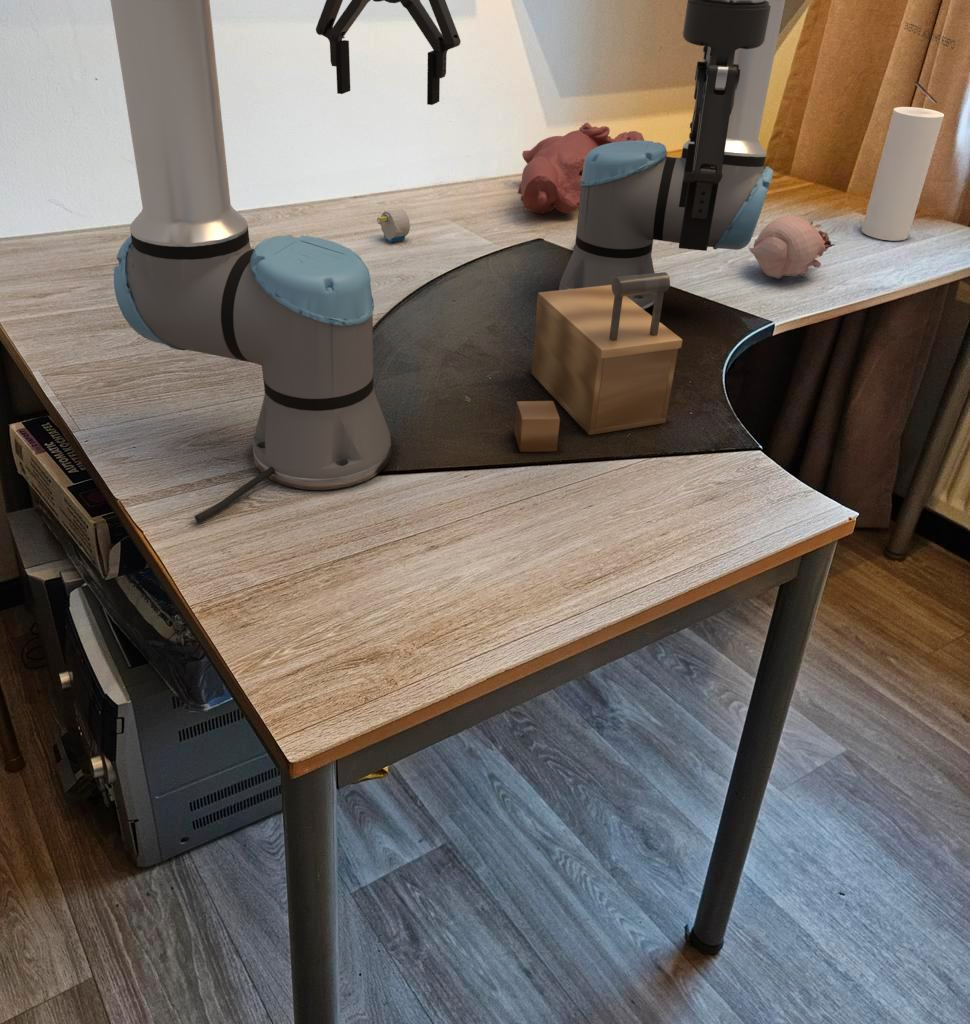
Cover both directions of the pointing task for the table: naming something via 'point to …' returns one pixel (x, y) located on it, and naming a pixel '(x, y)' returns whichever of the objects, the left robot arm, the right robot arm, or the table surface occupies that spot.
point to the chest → (601, 379)
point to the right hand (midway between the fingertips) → (691, 227)
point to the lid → (615, 315)
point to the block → (537, 426)
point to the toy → (790, 246)
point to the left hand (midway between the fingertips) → (388, 97)
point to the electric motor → (394, 225)
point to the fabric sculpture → (562, 168)
